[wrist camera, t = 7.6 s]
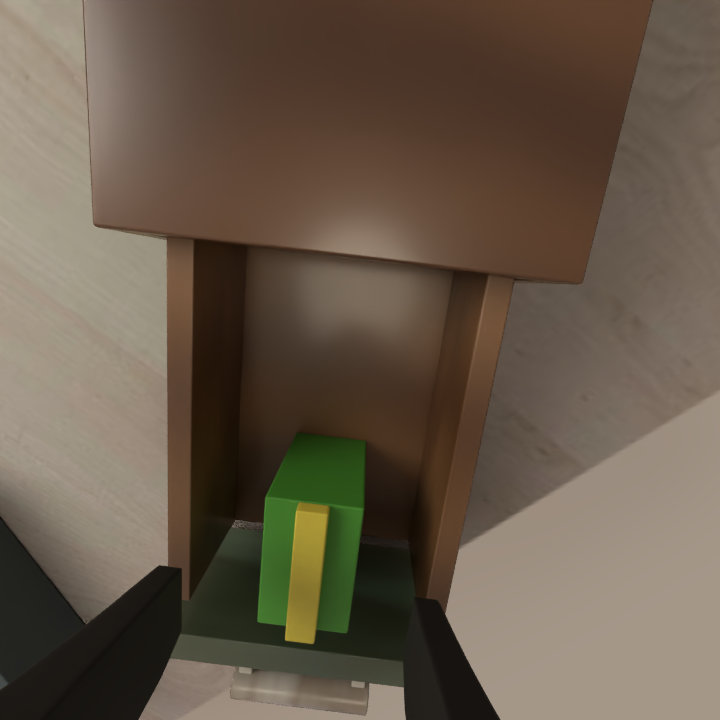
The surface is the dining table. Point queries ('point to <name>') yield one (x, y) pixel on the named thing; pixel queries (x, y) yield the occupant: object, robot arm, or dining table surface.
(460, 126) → the cabinet
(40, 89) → the dining table surface
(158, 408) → the dining table surface
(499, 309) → the drawer
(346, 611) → the yellow-striped green block
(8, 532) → the dark grey square tile
